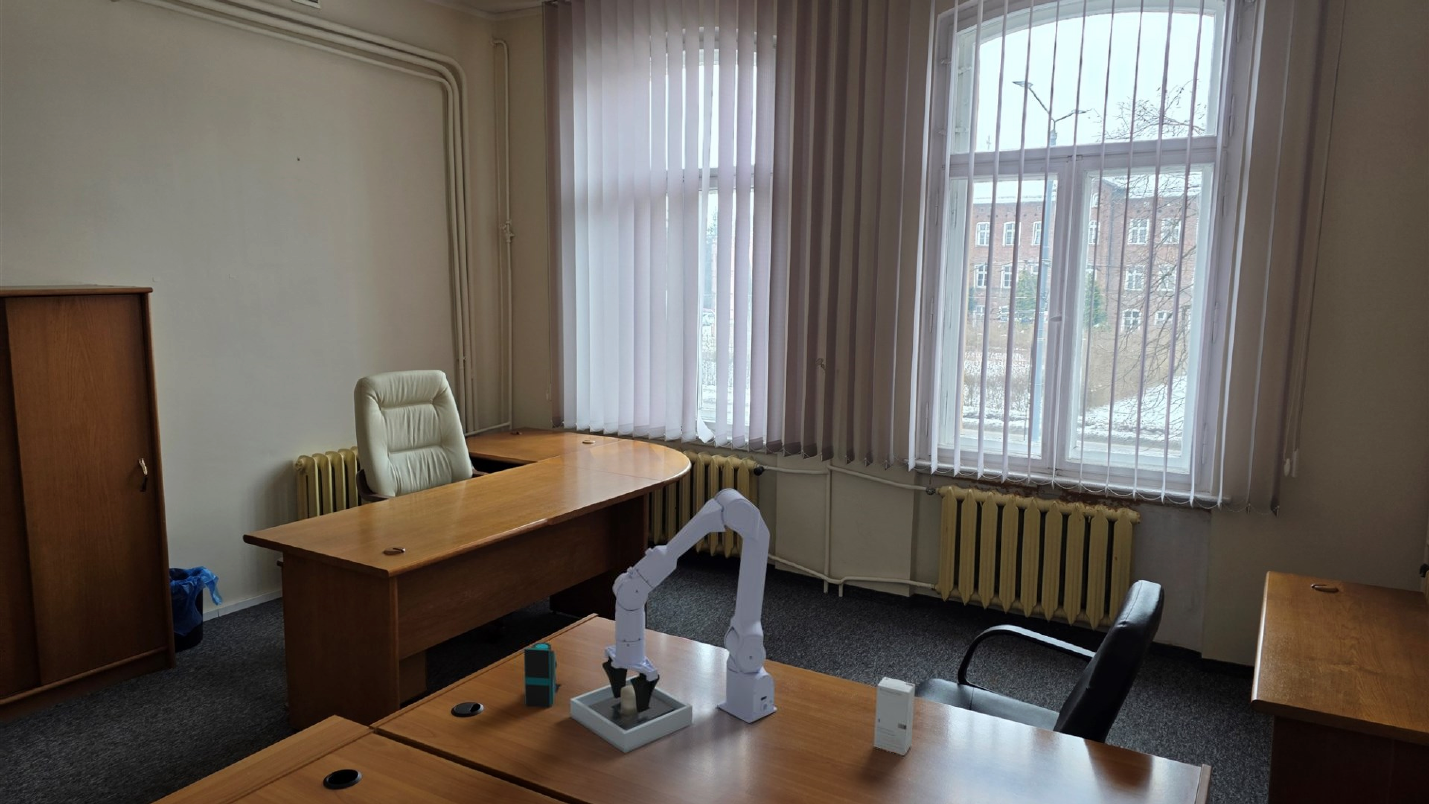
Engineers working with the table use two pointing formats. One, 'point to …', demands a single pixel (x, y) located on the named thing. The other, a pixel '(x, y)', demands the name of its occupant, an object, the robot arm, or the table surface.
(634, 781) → the table surface
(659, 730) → the tray
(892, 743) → the skincare box
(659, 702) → the plate
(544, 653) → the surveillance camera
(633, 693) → the peg
